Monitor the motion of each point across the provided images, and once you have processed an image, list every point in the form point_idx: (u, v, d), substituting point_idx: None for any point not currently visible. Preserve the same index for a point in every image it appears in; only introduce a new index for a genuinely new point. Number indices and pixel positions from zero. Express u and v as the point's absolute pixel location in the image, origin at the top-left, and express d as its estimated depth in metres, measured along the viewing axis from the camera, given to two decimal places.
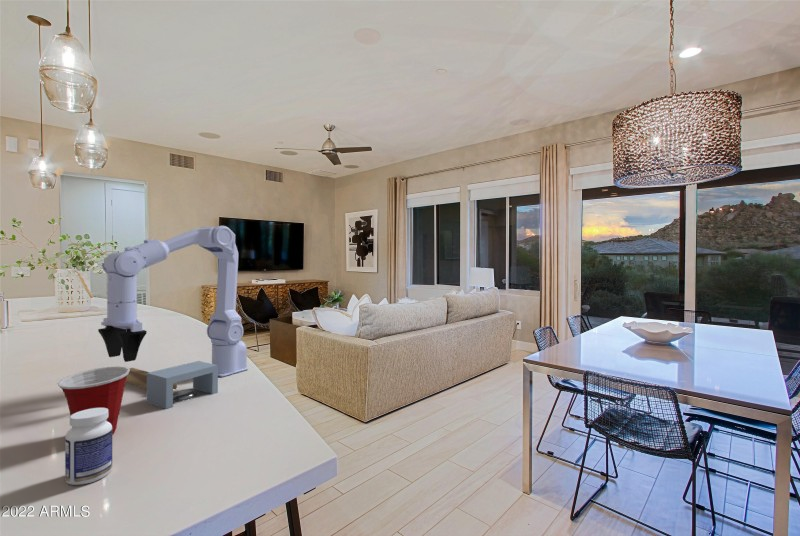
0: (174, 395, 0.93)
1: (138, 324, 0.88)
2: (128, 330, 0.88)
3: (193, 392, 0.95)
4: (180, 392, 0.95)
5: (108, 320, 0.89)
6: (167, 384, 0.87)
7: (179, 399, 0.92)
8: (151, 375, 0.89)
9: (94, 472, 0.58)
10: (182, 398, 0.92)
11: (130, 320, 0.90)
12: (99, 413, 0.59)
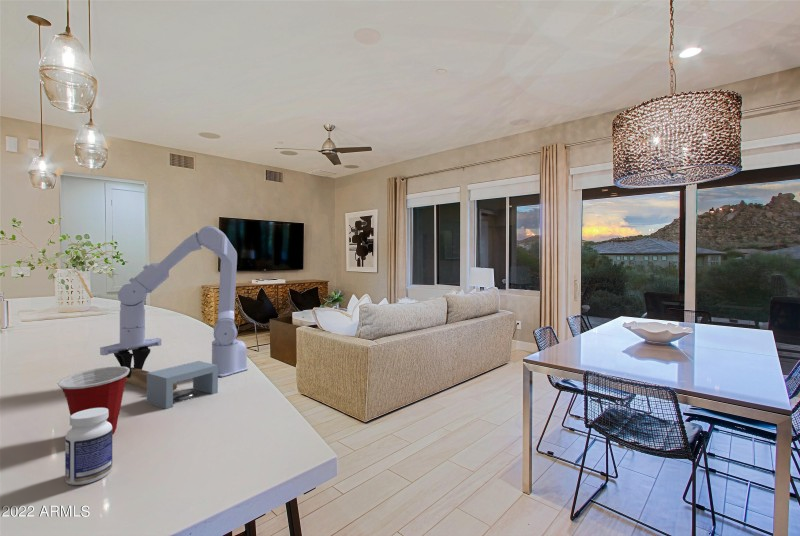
0: (174, 395, 0.93)
1: (102, 349, 0.99)
2: None
3: (193, 392, 0.95)
4: (180, 392, 0.95)
5: None
6: (167, 384, 0.87)
7: (179, 399, 0.92)
8: (151, 375, 0.89)
9: (94, 472, 0.58)
10: (182, 398, 0.92)
11: (121, 344, 1.03)
12: (99, 413, 0.59)
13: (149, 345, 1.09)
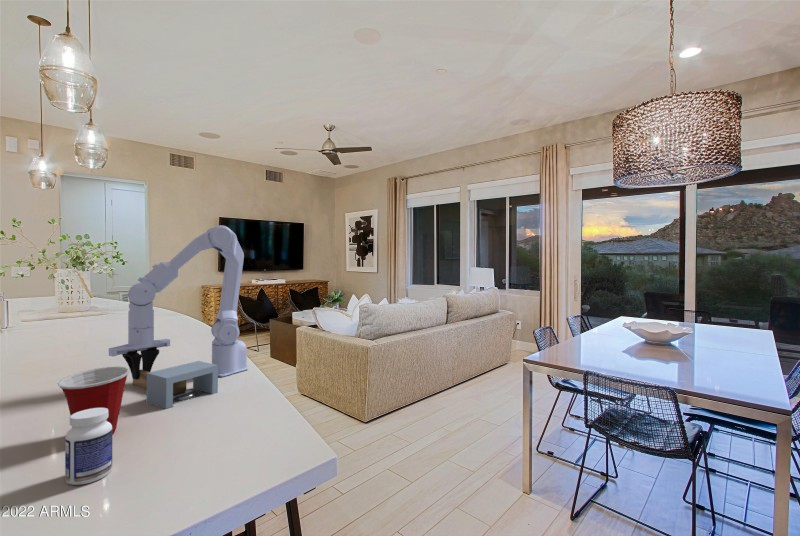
0: (174, 395, 0.93)
1: (110, 350, 0.97)
2: None
3: (193, 392, 0.95)
4: (180, 392, 0.95)
5: None
6: (167, 384, 0.87)
7: (179, 399, 0.92)
8: (151, 375, 0.89)
9: (94, 472, 0.58)
10: (182, 398, 0.92)
11: (130, 345, 1.00)
12: (99, 413, 0.59)
13: (158, 346, 1.07)
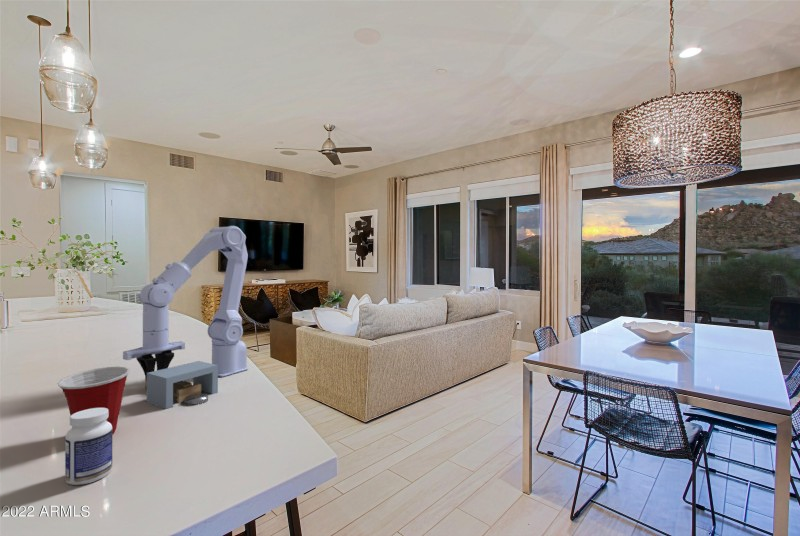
0: (187, 398, 0.90)
1: (125, 353, 0.93)
2: None
3: (206, 395, 0.92)
4: (193, 395, 0.92)
5: None
6: (167, 384, 0.87)
7: (192, 402, 0.89)
8: (151, 375, 0.89)
9: (94, 472, 0.58)
10: (195, 402, 0.89)
11: (145, 348, 0.97)
12: (99, 413, 0.59)
13: (172, 349, 1.04)
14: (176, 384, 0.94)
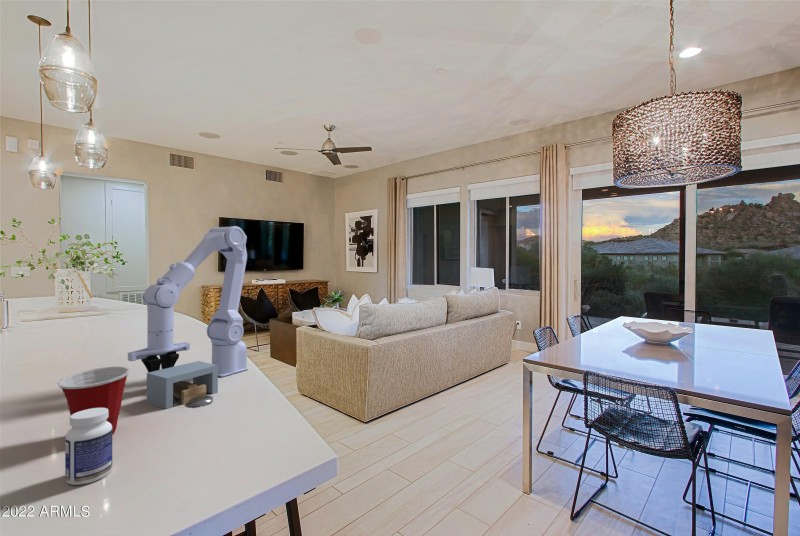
0: (191, 401, 0.89)
1: (130, 354, 0.92)
2: None
3: (211, 398, 0.91)
4: (198, 398, 0.91)
5: None
6: (167, 384, 0.87)
7: (196, 405, 0.88)
8: (151, 375, 0.89)
9: (94, 472, 0.58)
10: (199, 404, 0.88)
11: (150, 349, 0.96)
12: (99, 413, 0.59)
13: (177, 350, 1.02)
14: (181, 385, 0.93)
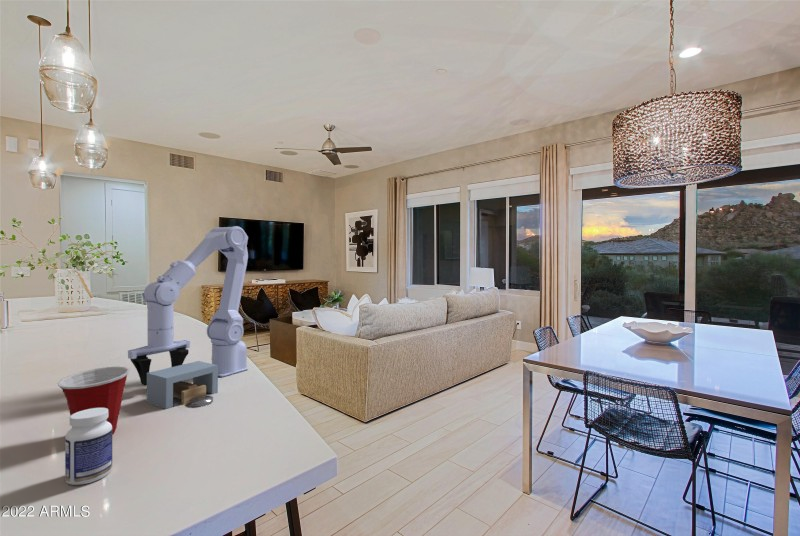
0: (191, 400, 0.89)
1: (130, 352, 0.92)
2: None
3: (211, 398, 0.91)
4: (198, 397, 0.91)
5: None
6: (167, 384, 0.87)
7: (196, 405, 0.88)
8: (151, 375, 0.89)
9: (94, 472, 0.58)
10: (199, 404, 0.88)
11: (150, 347, 0.96)
12: (99, 413, 0.59)
13: (177, 347, 1.02)
14: (181, 386, 0.93)
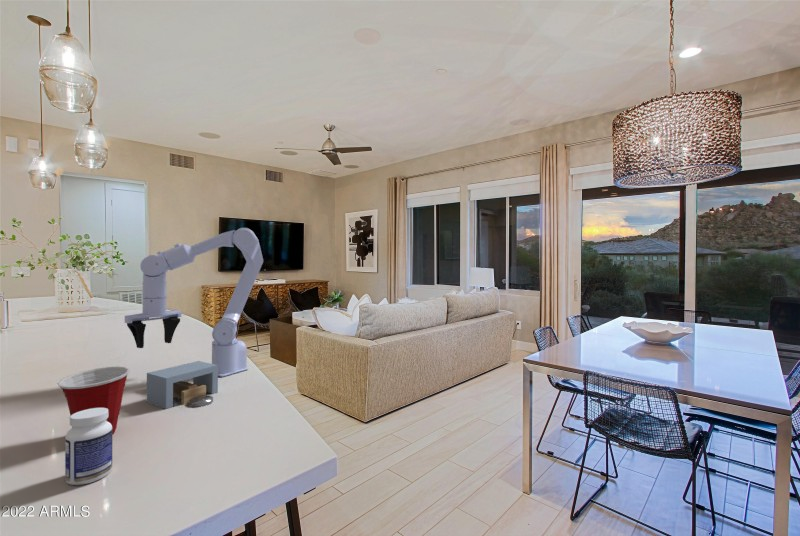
0: (191, 400, 0.89)
1: (126, 317, 1.02)
2: None
3: (211, 398, 0.91)
4: (198, 397, 0.91)
5: None
6: (167, 384, 0.87)
7: (196, 405, 0.88)
8: (151, 375, 0.89)
9: (94, 472, 0.58)
10: (199, 404, 0.88)
11: (144, 313, 1.06)
12: (99, 413, 0.59)
13: (170, 316, 1.12)
14: (181, 386, 0.93)
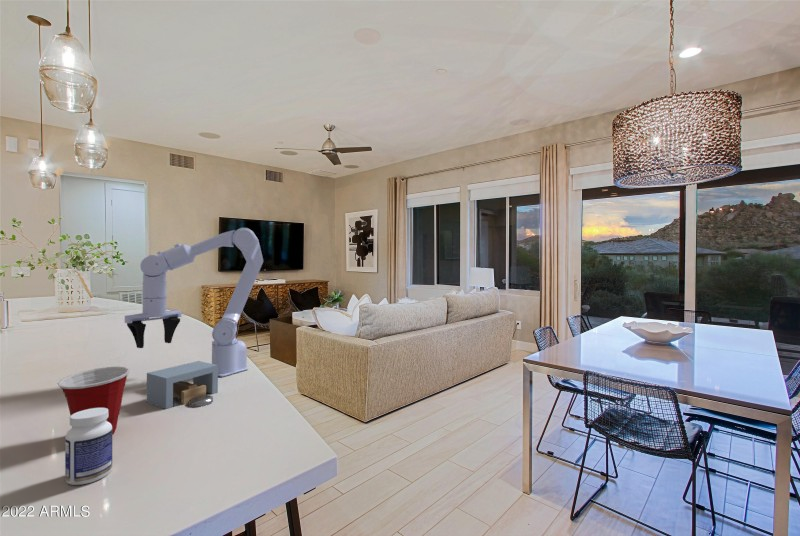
0: (191, 401, 0.89)
1: (126, 317, 1.02)
2: None
3: (211, 397, 0.91)
4: (198, 398, 0.91)
5: None
6: (167, 384, 0.87)
7: (197, 405, 0.88)
8: (151, 375, 0.89)
9: (94, 472, 0.58)
10: (200, 404, 0.88)
11: (144, 313, 1.06)
12: (99, 413, 0.59)
13: (170, 316, 1.12)
14: (181, 386, 0.93)
